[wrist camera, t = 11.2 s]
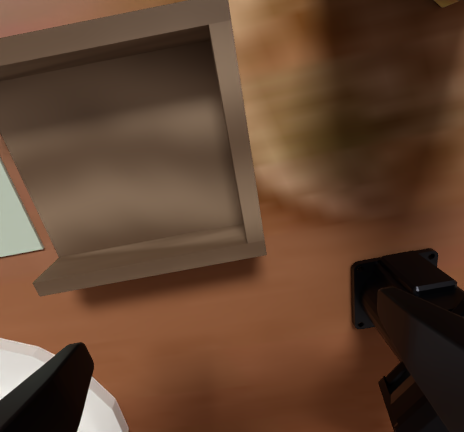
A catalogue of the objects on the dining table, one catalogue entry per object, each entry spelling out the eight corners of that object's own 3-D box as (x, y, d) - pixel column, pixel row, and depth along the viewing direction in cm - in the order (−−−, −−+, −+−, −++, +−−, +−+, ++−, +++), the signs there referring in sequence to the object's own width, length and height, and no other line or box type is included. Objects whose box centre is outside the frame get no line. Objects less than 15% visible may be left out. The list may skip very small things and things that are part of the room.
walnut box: (257, 228, 20) (266, 254, 17) (71, 262, 21) (39, 296, 17) (224, 20, 16) (226, -8, 12) (-17, 68, 16) (-89, 55, 12)
